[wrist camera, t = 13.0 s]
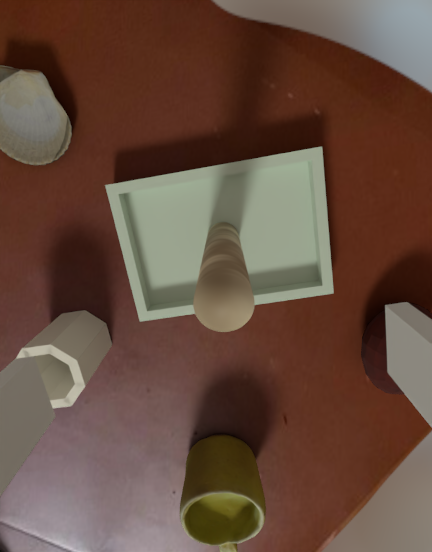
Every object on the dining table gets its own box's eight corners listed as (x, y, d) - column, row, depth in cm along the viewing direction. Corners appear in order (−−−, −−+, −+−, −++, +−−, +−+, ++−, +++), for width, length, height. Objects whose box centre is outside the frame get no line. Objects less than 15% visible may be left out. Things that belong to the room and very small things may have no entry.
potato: (435, 300, 38) (473, 325, 32) (402, 380, 41) (431, 416, 35) (368, 287, 38) (395, 309, 32) (340, 369, 41) (360, 403, 35)
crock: (62, 366, 42) (25, 411, 34) (45, 315, 40) (2, 351, 32) (116, 359, 41) (90, 403, 33) (101, 307, 39) (70, 341, 32)
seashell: (10, 152, 37) (76, 172, 35) (-16, 154, 34) (54, 176, 32) (4, 61, 33) (78, 79, 31) (-26, 56, 30) (54, 75, 29)
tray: (145, 312, 39) (139, 321, 37) (113, 184, 35) (105, 185, 33) (326, 285, 38) (333, 293, 35) (315, 147, 34) (322, 146, 31)
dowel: (210, 255, 36) (199, 335, 19) (204, 224, 35) (187, 279, 18) (241, 250, 36) (258, 327, 19) (236, 219, 35) (250, 270, 18)
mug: (171, 429, 41) (187, 519, 33) (252, 416, 44) (286, 495, 36) (167, 490, 47) (181, 580, 39) (239, 475, 50) (266, 555, 42)
